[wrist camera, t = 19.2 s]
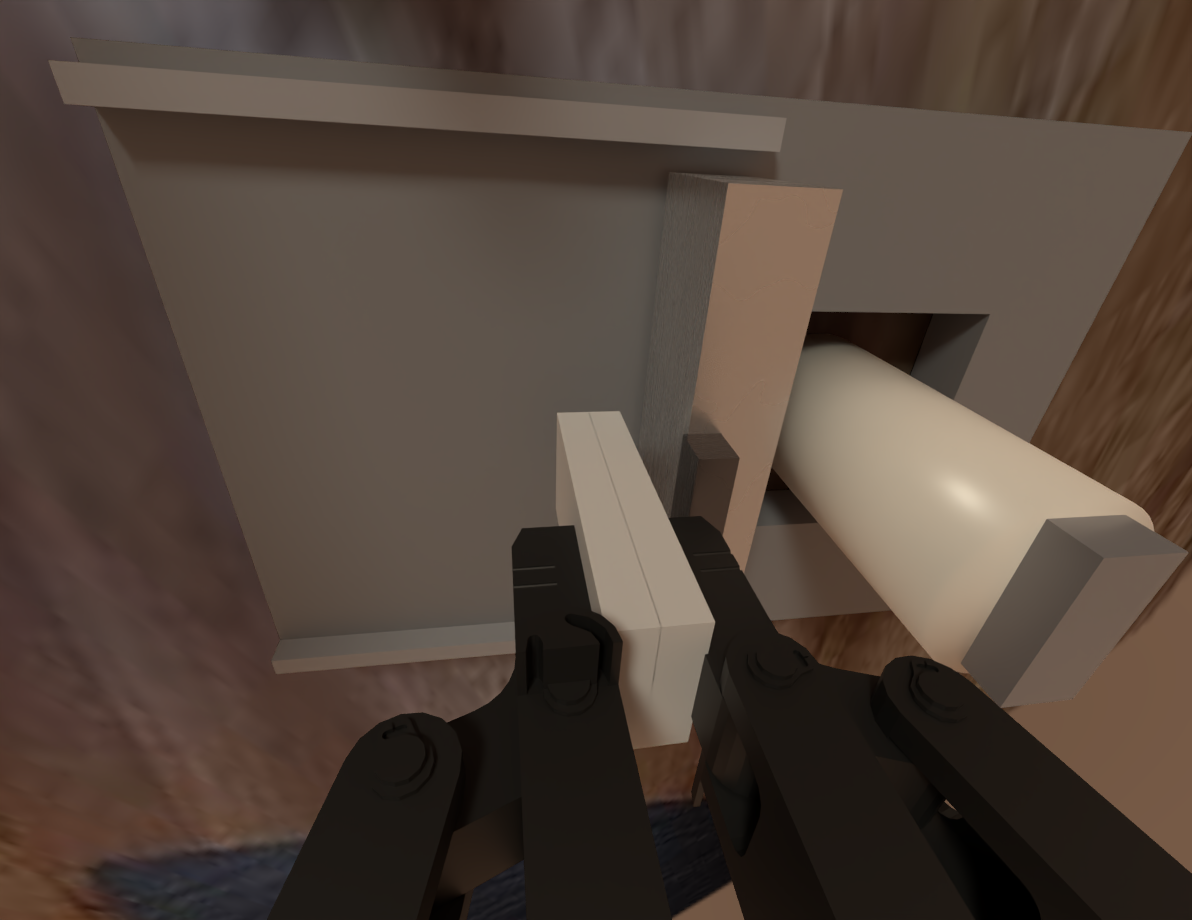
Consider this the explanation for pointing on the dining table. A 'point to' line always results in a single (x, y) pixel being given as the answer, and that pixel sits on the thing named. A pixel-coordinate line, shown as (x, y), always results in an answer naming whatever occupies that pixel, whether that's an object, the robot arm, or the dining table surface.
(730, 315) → the lock bar
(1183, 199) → the dining table surface
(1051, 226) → the housing plate
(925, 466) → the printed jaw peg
